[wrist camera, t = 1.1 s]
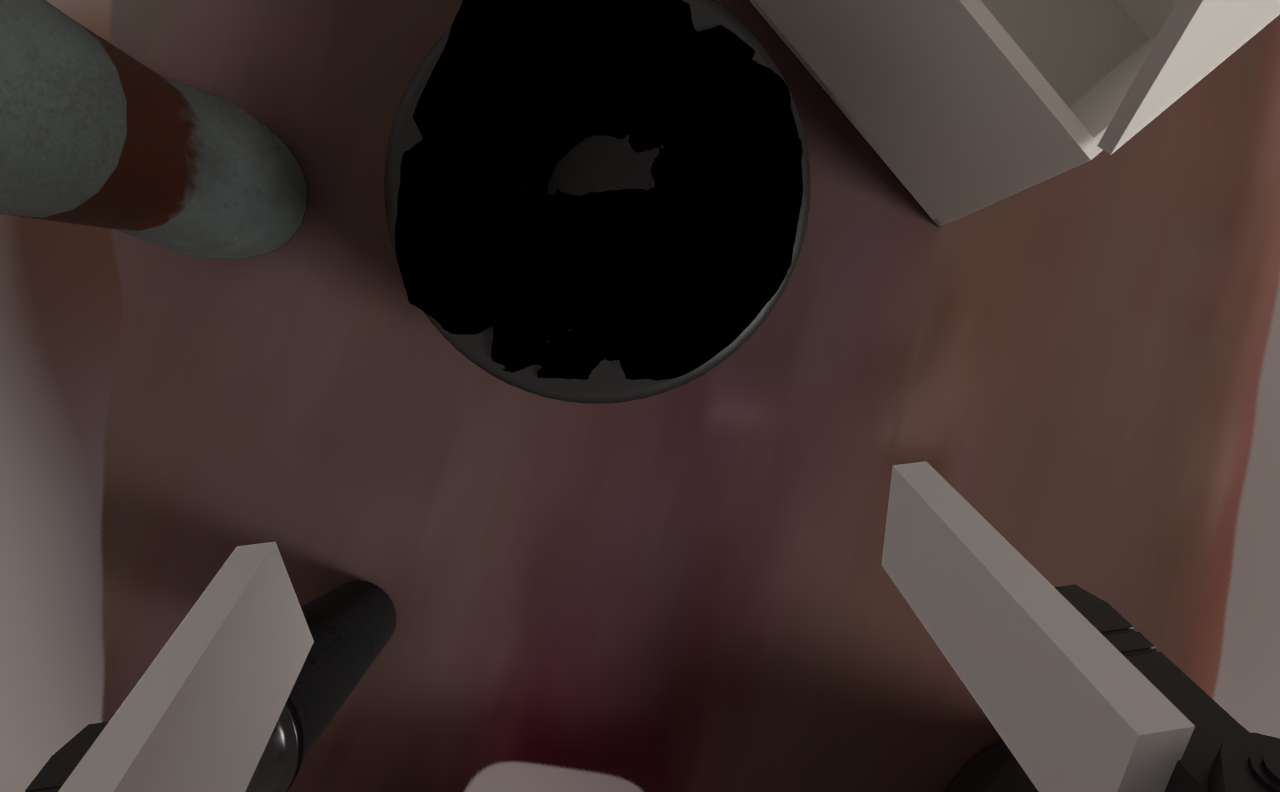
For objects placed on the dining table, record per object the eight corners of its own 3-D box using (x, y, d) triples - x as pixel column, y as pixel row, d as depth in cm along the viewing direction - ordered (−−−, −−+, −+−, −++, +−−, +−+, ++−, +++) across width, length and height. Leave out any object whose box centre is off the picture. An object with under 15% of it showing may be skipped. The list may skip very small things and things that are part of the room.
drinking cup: (284, 638, 43) (-52, 893, 23) (334, 539, 42) (33, 712, 22) (386, 693, 43) (139, 995, 23) (436, 595, 42) (229, 817, 22)
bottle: (343, 166, 40) (-596, -362, 10) (276, 294, 41) (-779, 147, 11) (214, 90, 40) (-1100, -660, 10) (149, 219, 41) (-1249, -132, 11)
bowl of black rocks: (645, 453, 41) (627, 542, 22) (391, 264, 41) (154, 192, 22) (841, 193, 39) (1003, 49, 20) (577, -6, 39) (494, -336, 20)
